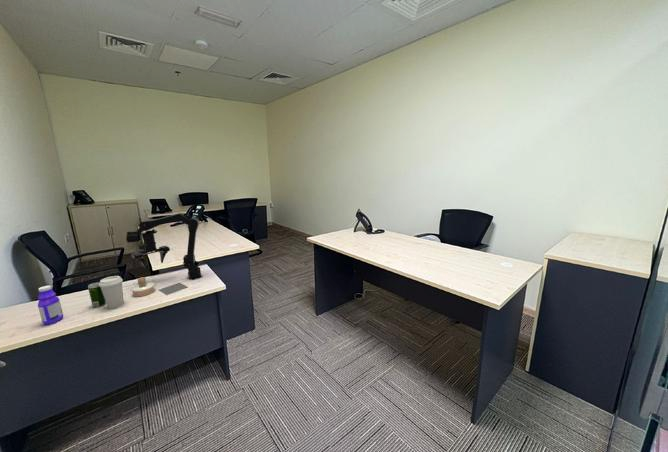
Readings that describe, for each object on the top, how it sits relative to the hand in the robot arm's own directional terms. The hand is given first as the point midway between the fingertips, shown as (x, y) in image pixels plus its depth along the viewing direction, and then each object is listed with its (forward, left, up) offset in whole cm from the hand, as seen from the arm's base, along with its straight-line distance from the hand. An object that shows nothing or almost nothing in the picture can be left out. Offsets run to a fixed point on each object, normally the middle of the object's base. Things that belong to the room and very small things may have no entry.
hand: (153, 265), depth 162 cm
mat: (-2, +18, -12) cm, 22 cm away
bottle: (+46, +6, -12) cm, 48 cm away
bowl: (+10, +9, -12) cm, 18 cm away
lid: (+10, +9, -8) cm, 16 cm away
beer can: (+29, +5, -12) cm, 32 cm away
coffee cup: (+24, +13, -12) cm, 30 cm away
